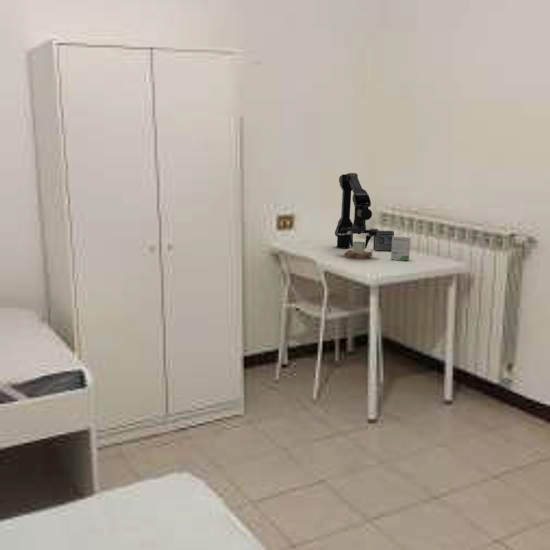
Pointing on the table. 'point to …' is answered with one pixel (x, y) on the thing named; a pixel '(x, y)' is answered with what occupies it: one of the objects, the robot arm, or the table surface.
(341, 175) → the robot arm
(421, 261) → the table surface
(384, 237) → the small box
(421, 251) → the table surface
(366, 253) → the brown wooden tray
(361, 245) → the sage cube
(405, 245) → the ink box
